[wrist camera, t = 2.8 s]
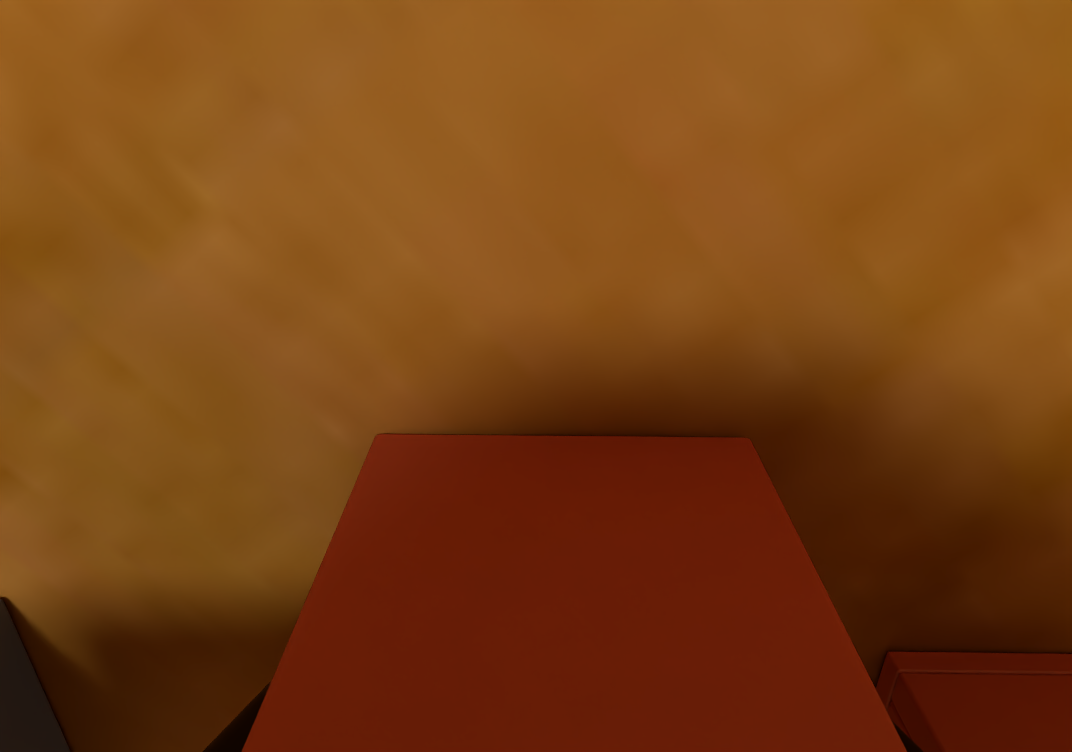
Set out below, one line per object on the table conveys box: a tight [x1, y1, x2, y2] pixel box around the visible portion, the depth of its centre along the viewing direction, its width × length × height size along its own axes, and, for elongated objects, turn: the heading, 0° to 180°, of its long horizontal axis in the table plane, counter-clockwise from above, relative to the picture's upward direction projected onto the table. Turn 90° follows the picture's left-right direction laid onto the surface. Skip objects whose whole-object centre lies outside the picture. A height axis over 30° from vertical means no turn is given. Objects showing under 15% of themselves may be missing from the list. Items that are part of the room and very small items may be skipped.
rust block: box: [242, 434, 907, 752], centre depth 8 cm, size 5×5×5 cm
